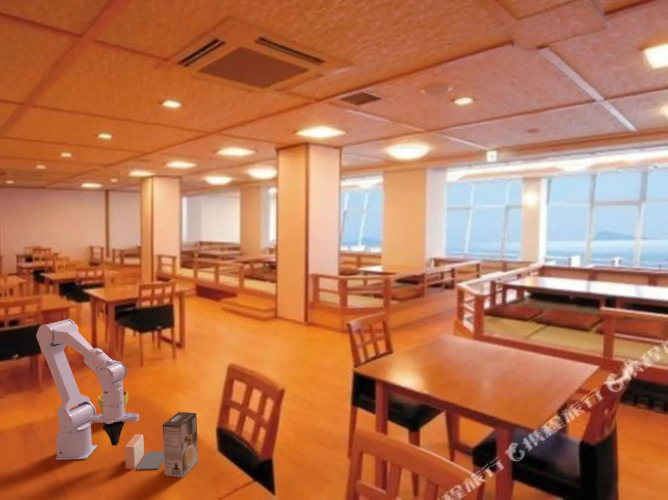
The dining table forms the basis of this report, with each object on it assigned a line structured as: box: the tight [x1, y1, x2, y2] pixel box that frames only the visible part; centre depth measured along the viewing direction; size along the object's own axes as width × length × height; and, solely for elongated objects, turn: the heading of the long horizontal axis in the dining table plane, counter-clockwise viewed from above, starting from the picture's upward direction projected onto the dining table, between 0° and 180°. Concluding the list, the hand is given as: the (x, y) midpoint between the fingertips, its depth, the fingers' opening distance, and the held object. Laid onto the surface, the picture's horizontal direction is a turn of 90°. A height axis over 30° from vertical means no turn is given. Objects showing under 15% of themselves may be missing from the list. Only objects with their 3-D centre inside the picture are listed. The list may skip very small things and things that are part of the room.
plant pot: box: [97, 389, 129, 414], centre depth 170 cm, size 10×10×10 cm
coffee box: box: [162, 411, 199, 478], centre depth 137 cm, size 9×6×16 cm
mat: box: [135, 450, 164, 471], centre depth 142 cm, size 7×10×1 cm
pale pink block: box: [124, 433, 145, 470], centre depth 141 cm, size 3×8×7 cm, turn 3°
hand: (115, 444), depth 141 cm, fingers closed
